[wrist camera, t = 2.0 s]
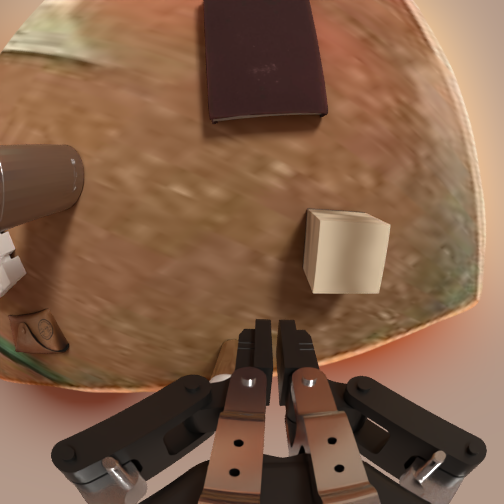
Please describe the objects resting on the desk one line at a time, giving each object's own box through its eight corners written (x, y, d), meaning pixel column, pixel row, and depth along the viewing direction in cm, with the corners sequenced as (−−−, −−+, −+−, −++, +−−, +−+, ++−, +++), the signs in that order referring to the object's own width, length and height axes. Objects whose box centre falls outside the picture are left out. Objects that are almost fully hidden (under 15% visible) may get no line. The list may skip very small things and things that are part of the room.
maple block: (302, 267, 32) (313, 293, 25) (307, 208, 30) (320, 220, 23) (357, 268, 32) (378, 293, 25) (364, 212, 30) (390, 225, 23)
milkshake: (206, 349, 36) (192, 401, 26) (232, 329, 35) (224, 381, 25) (230, 367, 37) (222, 419, 27) (256, 348, 36) (255, 402, 26)
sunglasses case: (48, 305, 35) (39, 339, 31) (74, 325, 40) (67, 357, 36) (6, 314, 37) (-2, 341, 33) (28, 331, 42) (21, 357, 38)
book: (303, -8, 21) (306, -21, 18) (323, 118, 27) (330, 112, 24) (205, -2, 22) (201, -15, 19) (212, 124, 28) (206, 119, 25)
